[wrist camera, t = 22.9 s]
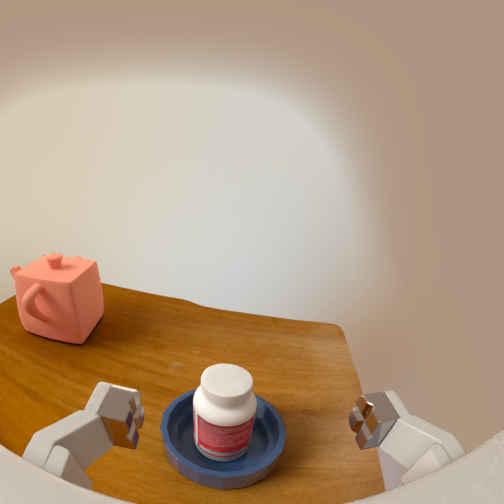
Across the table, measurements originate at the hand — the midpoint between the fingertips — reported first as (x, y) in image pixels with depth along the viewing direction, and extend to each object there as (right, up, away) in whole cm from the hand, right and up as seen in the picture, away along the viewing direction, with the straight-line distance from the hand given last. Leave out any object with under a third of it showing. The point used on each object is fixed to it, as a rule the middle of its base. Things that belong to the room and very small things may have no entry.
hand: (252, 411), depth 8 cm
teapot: (-39, -8, +33) cm, 51 cm away
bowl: (-4, -17, +17) cm, 24 cm away
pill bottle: (-4, -16, +17) cm, 24 cm away
